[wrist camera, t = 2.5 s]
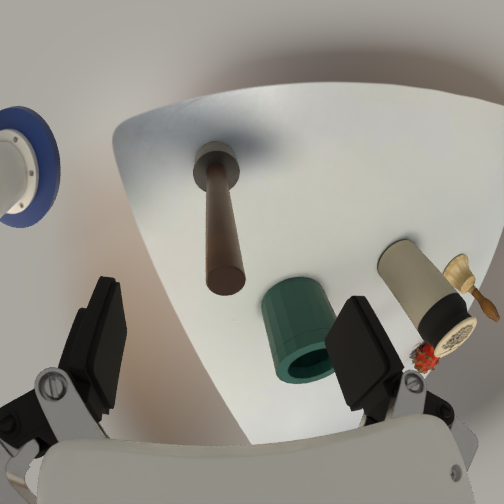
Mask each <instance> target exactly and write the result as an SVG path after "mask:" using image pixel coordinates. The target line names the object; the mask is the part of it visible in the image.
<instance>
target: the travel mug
mask: <svg viewBox="0 0 504 504" xmlns="http://www.w3.org/2000/svg"><path fill="white" fill-rule="evenodd" d="M378 272H379V275H380V276H381V277H382V279H383V280H384V282H385V283H386V284H387V286H388V287H389V289H390V290H391V292H392V293H393V294H394V296H395V297H396V299H397V300H398V302H399V303H400V305H401V306H402V308H403V309H404V311H405V312H406V314H407V315H408V317H409V318H410V320H411V321H412V323H413V325H414V326H415V328H416V329H417V331H418V332H419V334H420V336H421V337H422V339H423V340H424V341H425V342H427V343H429V344H431V345H432V346H433V349H434V355H435V357H443V356H445V355H447V354H449V353H451V352H452V351H453V350H455V349H456V348H457V347H459V346H460V345H461V344H462V343H463V342H464V341H465V340H466V339H467V338H468V337H469V335H470V334H471V333H472V331H473V330H474V328H475V326H476V322H477V320H476V318H475V317H472V316H470V314H468V313H467V307H466V302H465V301H464V300H463V298H462V297H461V296H460V295H459V293H458V292H457V291H456V290H455V289H454V287H453V286H452V285H451V284H450V283H449V281H448V280H447V279H446V278H445V277H444V276H443V274H442V273H441V272H440V271H439V270H438V269H437V268H436V267H435V265H434V264H433V263H432V262H431V261H430V260H429V259H428V258H427V257H426V256H425V255H424V254H423V253H422V251H421V250H420V249H419V248H418V247H417V246H416V245H415V244H414V243H413V242H412V241H409V240H402V241H399V242H397V243H395V244H393V245H392V246H390V247H389V248H388V249H387V250H386V251H385V253H384V254H383V255H382V257H381V259H380V261H379V265H378Z"/></svg>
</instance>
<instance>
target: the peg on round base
mask: <svg viewBox="0 0 504 504" xmlns="http://www.w3.org/2000/svg"><path fill="white" fill-rule="evenodd" d="M239 173H240V170H239V165H238V162H237V159H236V156H235V154H234V151H233V150H232V149H231V147H229V146H228V145H227V144H225V143H222V142H210V143H207V144H205V145H204V146H203V147H201V148H200V150H199V151H198V153H197V155H196V159H195V164H194V169H193V176H194V180H195V182H196V184H197V185H198V186H199V188H201V189H202V190H203V191H205V192H206V284H207V287H208V288H209V289H210V290H211V291H212V292H213V293H215V294H218V295H222V296H228V295H233V294H235V293H237V292H239V291H240V290H241V289H242V288H243V286H244V284H245V281H246V277H245V272H244V267H243V261H242V256H241V251H240V246H239V240H238V235H237V230H236V224H235V219H234V213H233V208H232V203H231V197H230V192H229V190H230V189H231V188H232V187H233V186H234V185H235V184H236V182H237V181H238V178H239Z"/></svg>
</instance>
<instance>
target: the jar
mask: <svg viewBox="0 0 504 504" xmlns="http://www.w3.org/2000/svg"><path fill="white" fill-rule="evenodd" d="M261 308H262V314H263V319H264V323H265V327H266V332H267V336H268V340H269V345H270V349H271V353H272V358H273V362H274V366H275V370H276V375H277V376H278V378H279V379H280V380H281V381H284V382H286V383H292V384H302V383H309V382H313V381H317V380H320V379H322V378H325V377H327V376H329V375H331V374H332V373H334V372H335V371H334V368H333V365H332V363H331V360H330V357H329V354H328V352H327V349H326V346H325V337H326V336H327V334H328V332H329V331H330V329H331V327H332V326H333V324H334V322H335V320H336V319H337V317H336V315H335V313H334V311H333V309H332V307H331V305H330V302H329V300H328V298H327V296H326V294H325V292H324V290H323V289H322V287H321V285H320V284H319V283H318V282H316V281H315V280H312V279H309V278H304V277H298V278H291V279H288V280H285V281H282V282H280V283H278V284H277V285H275V286H274V287H272V288H271V289H270V290H269V291H268V292H267V293H266V295H265V296H264V298H263V300H262V304H261Z"/></svg>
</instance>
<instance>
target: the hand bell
mask: <svg viewBox="0 0 504 504" xmlns="http://www.w3.org/2000/svg"><path fill="white" fill-rule="evenodd" d="M443 276H444V277H445V278H446V279H447V280H448V281H449V283H450V284H451V285H452V286H453V287H455V288H456V289H458V290H459V291H460V292H461V293H463V294H464V293H467V292H470V294H471V295H473V296H474V298H475V299H476V300H477V301H478V302H479V304H480V306H481V308H482V310H483V312H484V313H485V314H486V316H487V317H489V318H490V319H492V320H494V321H495V322H497V321H498V320H499V319H500V316H499V315H498V312H497V309H496V307H495V306H494V304H493V303H492V302H491V301H490V300H488V299H487V298H485V297H484V296H483V295H482V294H481V293H480V292H479V291H478V289H477V288H476V287H475V286H474V283H475V277H474V275H473V274H472V272H471V271H470V269H469V266H468V258H467V256H466V255H465V254H461V255H458V256H457V257H455V258H454V259H453V260H452V261H451V262H450V263H449V264H448V266H447V267H446V269H445V270H444V273H443Z"/></svg>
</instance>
